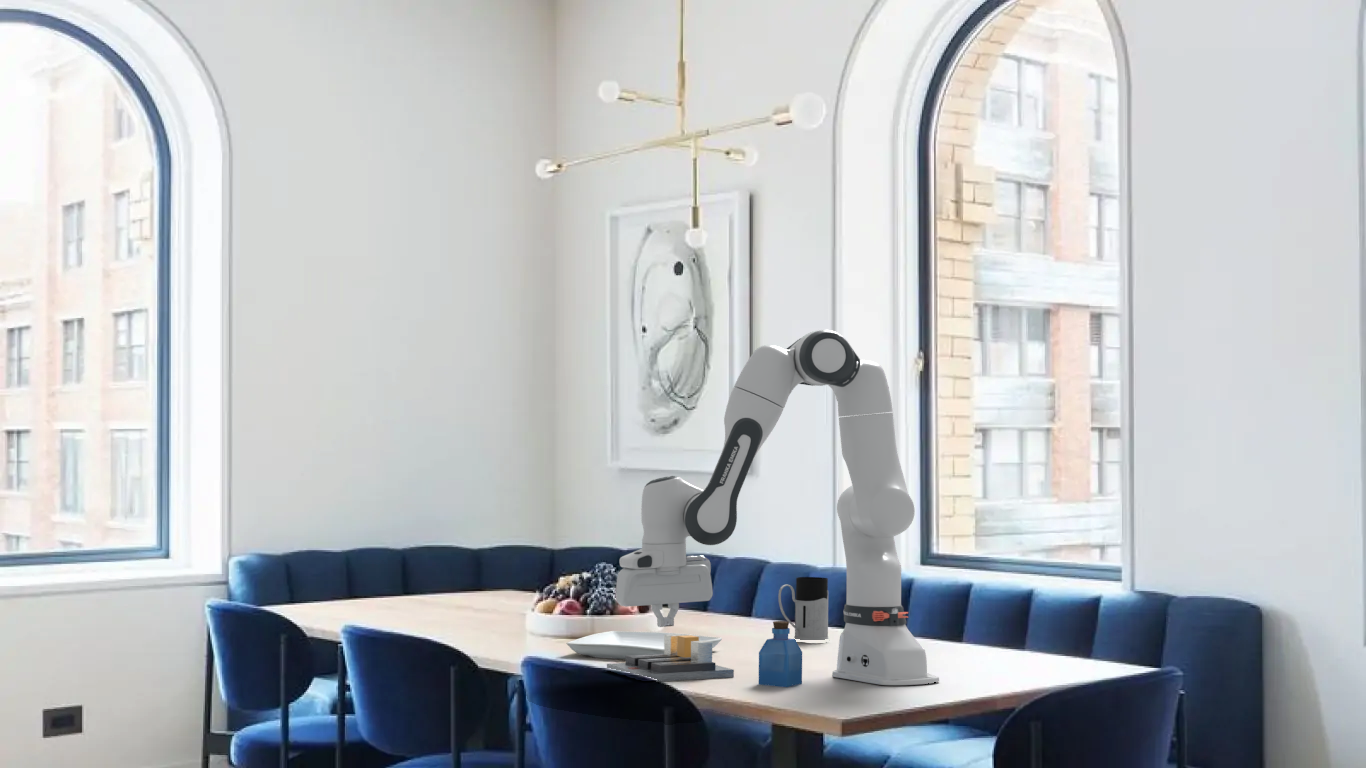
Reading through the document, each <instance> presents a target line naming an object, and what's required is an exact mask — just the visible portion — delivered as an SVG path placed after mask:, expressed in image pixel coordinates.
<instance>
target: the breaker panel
mask: <svg viewBox="0 0 1366 768" xmlns="http://www.w3.org/2000/svg"><path fill="white" fill-rule="evenodd" d="M679 634H680V633H678V634H672V635H664V654H651V655H629V656H626V659H625V662H617V663H606V669H607V668H611V669H616V670H621V671H626V672H630V673H635V674H639V675H643V676H647V677H651V678H654V679H657V680H660V681H659V682H669V681H670V682H672V681H687V680H688V681H692V680H707V679H723V678H725V679H726V678H734V677H735V676H734V675H735V669H733V668H729V667H725V666H722V665H717V664H716V662H714V661H713V648H712V642H709V641H691V657H687V658H684V657H680V656H677V638H678V636H684V635H679Z"/></svg>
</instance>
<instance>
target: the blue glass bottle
mask: <svg viewBox="0 0 1366 768" xmlns="http://www.w3.org/2000/svg"><path fill="white" fill-rule="evenodd" d="M772 623H773V627H772V628H771V633H772V634H773V635H772V636H773V638H768V639H766V640H765V642H764V644H763V645H762V646H761V649H760V650H759V651H758V685H759V686H771V687H777V688H778V687H779V688H790V687H794V686H798V685H802V683H803V651H802V649H801V647H800V646H799V643H797V642H796V640H795V639H794V638H789V634H790V632H791V631H790V630H791V628H790V627H789V625H790V623H789V622H788V621H787V620H786V621H784V620H782V621H781V620H776V621H775V620H774V621H772Z"/></svg>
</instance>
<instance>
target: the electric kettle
mask: <svg viewBox="0 0 1366 768" xmlns="http://www.w3.org/2000/svg"><path fill="white" fill-rule="evenodd" d="M795 579H796V581H795V583H796V584H795V585H796V586H795V589H794V587H793V586H792V585H790V584H787V583H786V584H783V585H781V586H780V588H779V590H778V595H777V596H778V605H779V609H780V612H781V614H782V616H783V618H784V619H785V620H786V622H789V625H791V626H792V627H793V628H794V637H793V639H794V638H795V639H800V640H825V639H829V590H828V586H829V580H828V579H829V578H827V577H821V576H820V577H819V576H801V577H796V578H795ZM785 587H789V588H790V590H791V597H792V601H793V603H794V622H792V621H791V620H790V619H789V617H788V616H787V615H786V613H785V611H784V607H783V604H782V591H783V589H784V588H785Z"/></svg>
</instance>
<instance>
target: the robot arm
mask: <svg viewBox="0 0 1366 768" xmlns="http://www.w3.org/2000/svg"><path fill="white" fill-rule="evenodd" d="M888 383H889V382H888V380H887V376H886V373H885V371H884V368H883V367H882V366H881V365H880V364H879V363H877V362H875V361H872V360H866V359H860V358H859V356H858V354H857V353H856V351H854V349H853V347H852V346H851V344H850V343H849V341H848V340H847V339H846V338H845V337H844V336H843V335H842V334H840V333H838V332H837V331H835V330H831V329H821V330H819V329H818V330H814V331H810V332H808V333H806V334H805V335H804V336H802V337H801V338H799V339H797V340H795V342H793V343H792V344H790V346H788V347H787V348H783V347H781V346H778V345H773V344H766V345H761V346H759V347H758V348H756V349H755V350H754V351H753V353H752V354H751V356H750V357H749V359H748V360H747V362H746V363H745V365H744V366H743V368H742V370H741V371H740V373H739V375H738V377H737V380H736V381H735V383H734V386H733V388H732V391H731V393H730V395H729V397H728V402H727V405H726V409H725V412H724V417H723V422H724V423H723V425H724V441H723V442H724V443H723V448H722V450H721V453H720V456H719V458H718V460H717V463H716V465H715V468H714V470H713V472H712V475H711V477H710V479H709V482H708V484H707V486H706V487H705V488H704V489H702V488H700V487H698V486H695V485H693V484H691V483H689V482H688V481H686V480H684V479H683V478H682V477H681V476H678V475H669V476H664V477H659V478H655V479H652V480H650V481H649V482H647V483H646V484H645V485H644V487H643V489H642V494H641V495H642V496H641V508H640V509H641V513H640V514H641V515H640V516H641V518H640V519H641V525H642V528H643V536H642V539H641V548H640V549H637V550H634V551H633V552H630V553H627V554H625V555H623V556H620V558H619V566H620V567H621V568H622V569H620V570H619V572H618V573H617V577H616V589H615V596H616V597H615V599H616V602H617V604H618V605H619V606H621V607H628V608H629V607H639V606H651V611H652V612H653V614H654V616H655V617H656V619H657V623H656V624H657V627H659V628H666V627H667V628H668V627H674V626H675V617H676V615H677V613H678V612H679V609H680V604H681V603H696V602H709V601H711V599H712V597H713V593H714V592H713V583H712V575H711V569H712V566H711V565H712V563H711V562H710V559H709V558H707V557H705V556H704V555H687V538H689V537H691V538H692V539H693V540H694V541H695V542H698V543H699V544H701V545H705V546H715V545H719V544H720V545H721V544H722V543H724V542H726V541H727V540H729V538H730V537H731V536H732V535H733V534H734V531H735V529H736V525H737V521H738V513H737V512H738V511H737V510H738V507H737V505H738V498H739V496H740V493H741V489H742V488H743V484H744V482H745V480H746V478H747V475H748V473H749V471H750V468H751V465H752V463H753V461H754V460H755V459H754V458H755V457H756V455H757V453H758V452H759V451H760V449H761V448H762V446H763V444H764V443H766V441H767V439H768V437H769V436H770V435H771V433H772V432H773V430H774V429H775V427H776V425H777V423H778V421H779V419H780V417H781V416H782V414H783V411H784V409H785V406H786V404H787V402H788V399H789V397H790V394H791V393H792V392H793V390H794V389H795V388H796V387H797V386H798V385H805V386H812V387H813V386H815V387H816V386H819V387H823V386H828V387H830V388H831V389H832V391H833V393H834V396H835V399H836V402H837V413H838V414H837V415H838V425H839V427H838V428H839V436H840V444H841V446H840V447H841V456H842V459H843V460H844V462H845V464H846V467H847V470H848V473H849V478H850V481H851V485H850V486H849V487H847V488H846V489H844V491H843V492H842V493H841V495H839V497H838V500H837V503H836V513H837V516H838V518H839V520H840V528H841V536H842V542H843V543H842V544H843V548H844V549H843V550H844V555H845V564H846V599H845V600H846V602H845V604H844V605H843V606H844V607H843V622H845V625H844V628H843V631H842V632H841V634H840V635H839V641H838V653H837V660H836V661H837V664H836V669H835V670H833V671H832V674H831V676H832V677H833V678H837V679H838V678H840V679H845V680H849V681H850V680H851V681H857V682H863V683H867V684H868V683H869V684H872V685H873V684H874V685H880V686H914V685H915V686H916V685H925V684H926V685H927V684H928V683H929V684H935V683H934V682H936V683H939V682H940V677H939V676H937V675H934V674H930V673H928V663H927V654H926V650H925V648H924V647H923V646H922V645H921V644H920V643H919V642H918V639H916V638H915V636H914V635H913V634H912V632H911V631H910V630H909V629H908V627H907V625H906V624H907V618H909V616H907V614H909V611H904V610H905V609H904V606H903V605H902V565H901V563H900V560H899V556H898V553H897V548H896V543H895V537H896V536H898V535H900V534H902V533H904V532H905V531H906V530H908V528H909V527H910V526H911V525H912V522H913V521H914V517H915V505H914V502H913V499H912V497H911V496H910V494H909V492H908V488H907V484H906V480H905V477H904V473H903V470H902V466H901V463H900V458H899V455H898V454H899V453H898V448H897V440H896V432H895V431H896V430H895V421H894V414H893V413H894V412H893V402H892V398H891V397H892V396H891V391H890V387H889V384H888ZM663 605H667V608H668V609H669V611H668V614H667V616H664V615H663V613H662V611H661V610H663ZM938 681H939V682H938Z"/></svg>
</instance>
